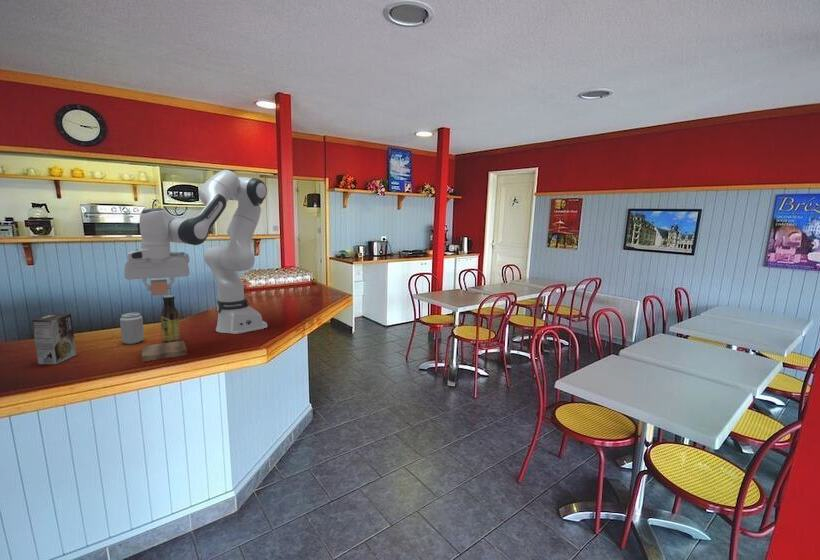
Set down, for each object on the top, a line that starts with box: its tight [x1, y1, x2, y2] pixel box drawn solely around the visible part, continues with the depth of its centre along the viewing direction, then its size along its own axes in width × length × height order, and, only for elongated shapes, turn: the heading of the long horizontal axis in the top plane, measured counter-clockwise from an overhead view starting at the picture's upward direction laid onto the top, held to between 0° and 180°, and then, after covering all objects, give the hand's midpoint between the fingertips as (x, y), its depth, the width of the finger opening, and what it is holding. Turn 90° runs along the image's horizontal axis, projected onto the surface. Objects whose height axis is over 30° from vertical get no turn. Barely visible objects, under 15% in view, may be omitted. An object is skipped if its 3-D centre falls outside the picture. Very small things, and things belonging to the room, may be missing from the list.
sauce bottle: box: [160, 294, 180, 343], centre depth 157 cm, size 7×6×20 cm
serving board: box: [141, 340, 188, 363], centre depth 146 cm, size 14×13×2 cm
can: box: [119, 312, 145, 345], centre depth 157 cm, size 8×8×12 cm
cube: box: [150, 278, 169, 297], centre depth 142 cm, size 5×5×5 cm
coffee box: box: [31, 312, 77, 365], centre depth 136 cm, size 9×6×16 cm
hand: (159, 289), depth 142 cm, fingers closed on cube, 5 cm apart
